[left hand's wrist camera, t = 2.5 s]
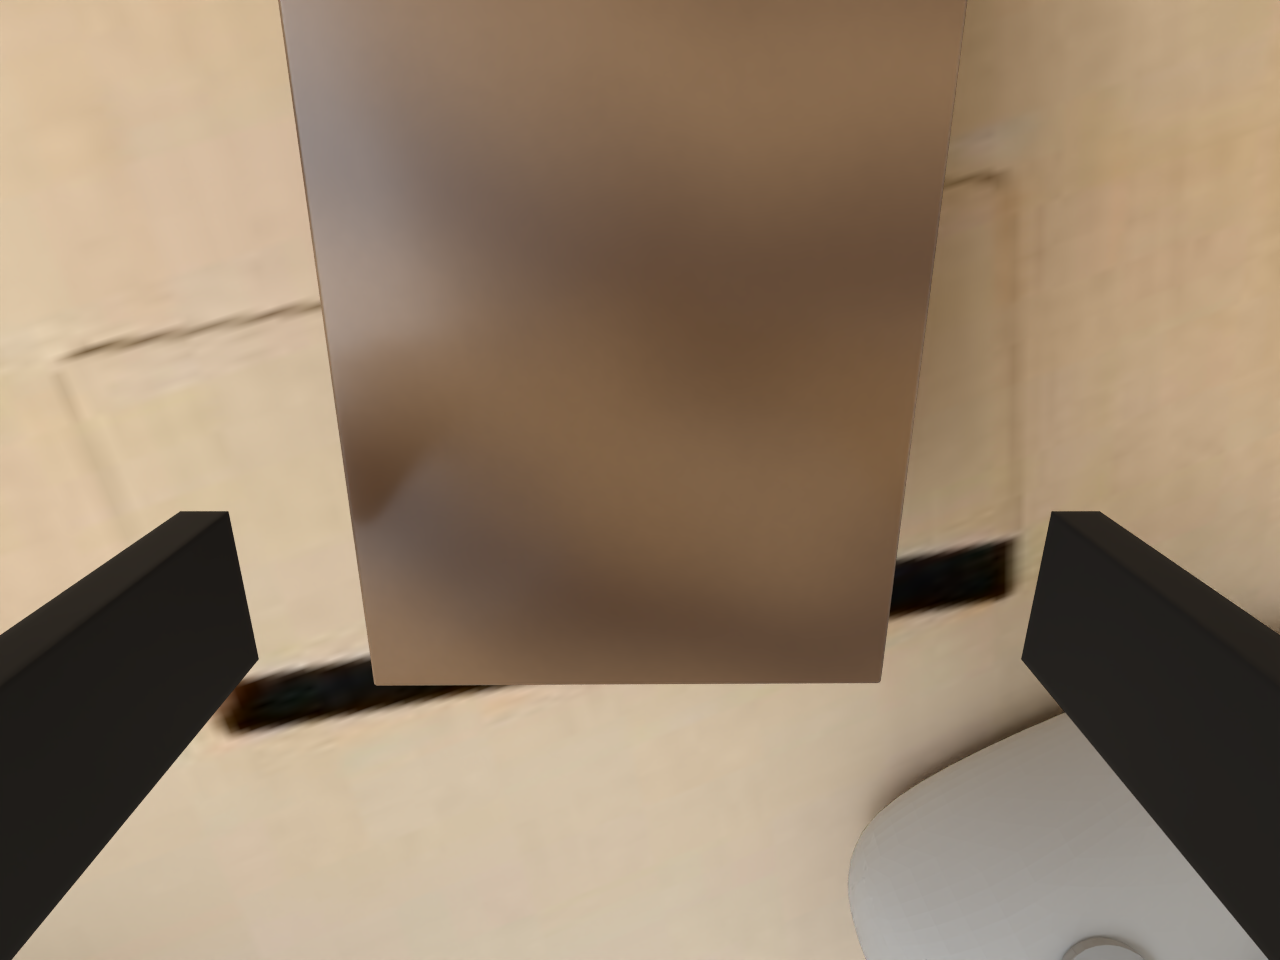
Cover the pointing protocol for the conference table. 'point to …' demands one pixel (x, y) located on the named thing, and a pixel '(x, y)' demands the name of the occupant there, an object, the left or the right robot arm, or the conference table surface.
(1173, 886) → the projector
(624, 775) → the conference table surface
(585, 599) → the cabinet
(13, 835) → the left robot arm
